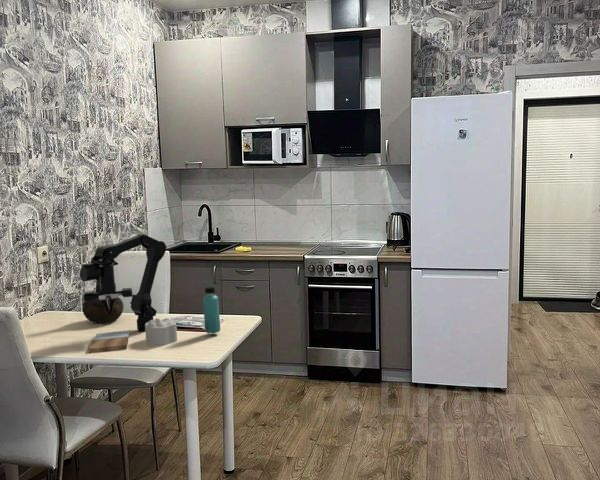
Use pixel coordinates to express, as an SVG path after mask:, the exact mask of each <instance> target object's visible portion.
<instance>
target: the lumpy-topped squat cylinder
mask: <svg viewBox="0 0 600 480" xmlns="http://www.w3.org/2000/svg"><path fill="white" fill-rule="evenodd" d="M177 329H178V327H177V323H176V321H172V320H171V319H170V318H168V317H165V318H163V319H160V318H159V317H158V318H155V319H153V320H150V321H149V322H147V323H146V324H145V331H144V332H145V341H146V344H148V345H152V346H156V347H157V346H159V347H161V346H162V347H163V346H167V345H169V344H172V343H176V342H178V333H177V332H178V330H177Z"/></svg>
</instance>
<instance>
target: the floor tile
mask: <svg viewBox="0 0 600 480" xmlns="http://www.w3.org/2000/svg"><path fill="white" fill-rule="evenodd" d="M129 336H130V330H120V331H109V332H108V331H107V332H100V333H99V332H97V333H96V334H95V336H94V338H93V340H100V339H110V338H121V337H128V338H129Z"/></svg>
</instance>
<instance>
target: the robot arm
mask: <svg viewBox="0 0 600 480" xmlns="http://www.w3.org/2000/svg"><path fill="white" fill-rule="evenodd" d="M139 246H141V247H142V248H144V249H146V250H145V254H146V258H147V260H146V263H145V268H144V270H143V274H142V278H141V283H140V286H139V289H138V290H139V291H138V292H137V293H136V294H133V292H134V291H133V288H132V287H125V288H124V287H123V288H122V289H121V290H117V285H116V281H115V280H116V279H115V267H114V266H119V263H118V262H117V261H116V260H115V259H116V258H118V257H119V256H120V255H121V254H122V253H124V252H127V251H129V250H132V249H134V248H137V247H139ZM166 251H167V245H166V243H165V242H164V241H162V240H158V239H155V238H153V237H150V236H149V235H147V234H145V233H138V234H136V235H134V236H132V237H129V238H128V239H124V240H122V241H120V242H117V243H113V244H107V245H101V246H98V247H97V248H96V249H95V251H94V252H95V254H94V255H93V257H92V259H91V260H90V263H82V264H81V268H80V270H79V278H80V280H81V281H83V283H84V282H89V281H94V280H96V279H99V277H100V282H98V289H99V290H101V293H95V291H96V290H91V291H90V290H89V291H85V292H84V293H83V296H82V297H83V302H84V301H89V300H93V298H96V297H99V302H102V303H103V305H104V306H105V308H106V310H107V312H108V314H109V315H111V313H112V309H113V305H114V302H115V300H118V297H119V296H122V297H123V298H131V301H130V302H129V304H130V309H131V310H132V312H133V313H134V315H135V316H137V319H136V329H137V330H138V332H139V333H140V332H145V324H146V323H147V322H149V321H150V320H154V317H156V316H157V310H156V309H155V308H154V307H153V306H152V302H153V300H152V297H151V296H152V295H151V293H152V288H153V285H154V281H155V276H156V273H157V270H158V267H159V263H160V261H161V260H162V259H163V257H164V256H165V254H166ZM103 294H105V295H103ZM107 296H111V299H110V309H109V304H108V298H107Z"/></svg>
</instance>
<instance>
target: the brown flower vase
mask: <svg viewBox="0 0 600 480" xmlns="http://www.w3.org/2000/svg"><path fill="white" fill-rule="evenodd" d="M98 282H100V277H99V279H96V285H95V290H94V291H95V293H101V290H99V289H98ZM103 295H105V294H103ZM107 298H108V304H109V309H110V299H111V296H107ZM124 306H125V305H124V302H123V300H122V299H121V297H119V296H118V300H115V302H114V305H113V309H112V313H111V315H109V314H108V312H107V310H106V308H105V306H104V305H103V303H102V302H99V297H96V298H93V300H89V301H84V300H83V304H82V313H83V315H84V317H85V318H86V319H87V321H89V322H91V323H93V324H99V325H104V324H105V325H106V324H109V323H110V324H111V323H114V322H115V321H117V320H118V319H119V318H120V317H121V315H122V314H123V312H124V308H125V307H124Z"/></svg>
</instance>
